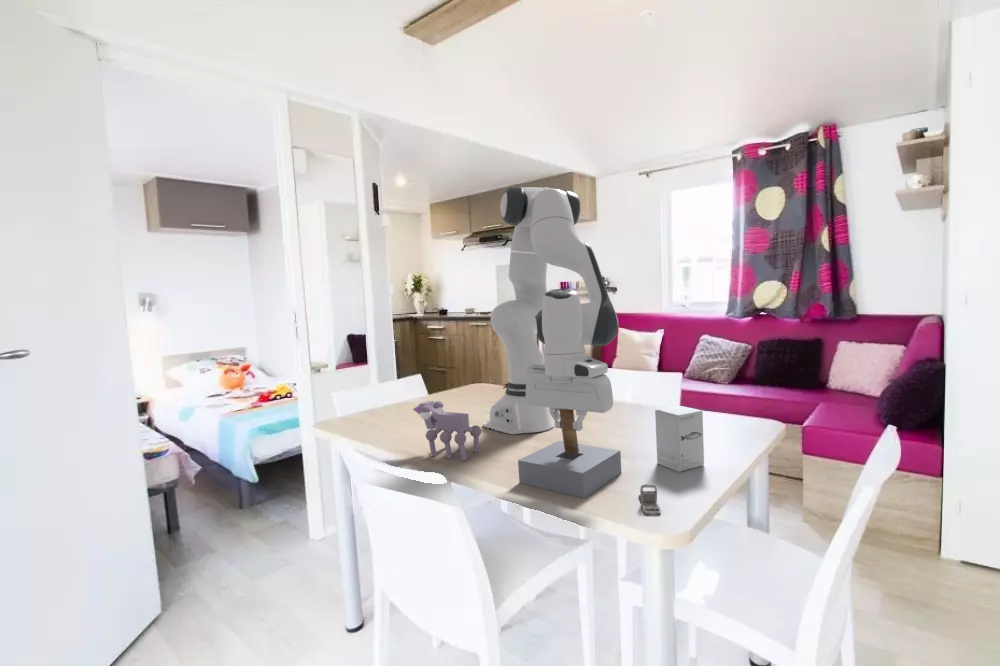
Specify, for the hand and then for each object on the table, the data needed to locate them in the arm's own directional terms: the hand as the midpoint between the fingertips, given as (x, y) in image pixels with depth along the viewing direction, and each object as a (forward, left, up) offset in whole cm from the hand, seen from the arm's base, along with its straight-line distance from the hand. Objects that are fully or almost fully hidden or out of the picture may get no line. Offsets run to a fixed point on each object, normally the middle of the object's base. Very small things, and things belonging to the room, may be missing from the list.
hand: (568, 428), depth 108 cm
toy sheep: (-39, -1, -11) cm, 41 cm away
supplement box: (+17, +19, -11) cm, 28 cm away
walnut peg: (0, 0, -5) cm, 5 cm away
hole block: (0, 0, -11) cm, 11 cm away
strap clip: (+20, -5, -11) cm, 23 cm away
